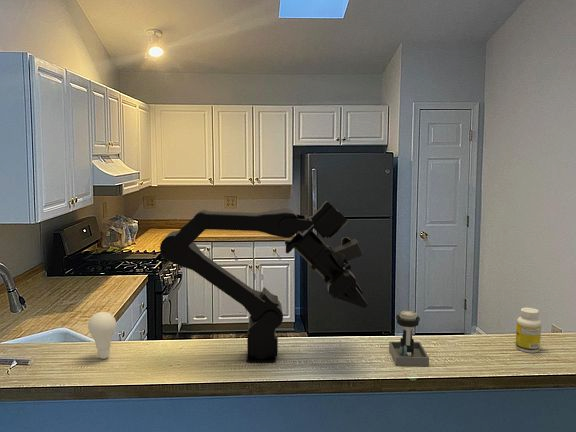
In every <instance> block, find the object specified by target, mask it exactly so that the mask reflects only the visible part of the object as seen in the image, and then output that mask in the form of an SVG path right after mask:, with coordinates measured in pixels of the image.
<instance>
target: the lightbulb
mask: <svg viewBox="0 0 576 432" xmlns="http://www.w3.org/2000/svg"><path fill="white" fill-rule="evenodd" d="M87 324H88V325H87V329H88V333H89V334H90V335H91V337H92V339H93V341H94V343H95V348H96V350H97V357H98V358H99V359H102V360H106V359H107V358H108V357H110V355H111V354H110V348H111V346H112V345H111V343H112V338H113V336H114V333H115V331H116V329H117V320H116V318H115V316H114V315H113V314H112V313H111V312H110V313H109V312H106V311H99V312H97V313H94V314H93V315H92V316H91V317H90V319H89V320H88V323H87Z"/></svg>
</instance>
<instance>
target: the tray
mask: <svg viewBox="0 0 576 432" xmlns="http://www.w3.org/2000/svg"><path fill="white" fill-rule="evenodd" d="M388 343H389V345H388V350H389V352H390V355H391V358H392V359H393V362H394V364H395V366H396V367H429V366H430V357H429V355H428V353H427V352H426V350H425V348H424V347H423V345H422V343H421V342H420V341H414V345H413V347H414V355H413V354H412V357H404V356H403V353H402V349H401V354H400V347H401V344H400V341H389V342H388Z"/></svg>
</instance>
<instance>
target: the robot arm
mask: <svg viewBox="0 0 576 432" xmlns="http://www.w3.org/2000/svg"><path fill="white" fill-rule="evenodd" d="M348 223H349V220H348V219H347V218H346V217H345V215H343V214H342V213H341V212H340V211H339V210H338V209H337V208H335V207H334V206H333V205H332V204H331V203H330V202H329V201H328V200H325V201H324V202H323V203H322V204H321V206H320V207H319V209H317V210H316V211H315V212H314V213H313V214H312V215H311V216H310V215H307V214H305V215H304V214H298V213H296V212H295V211H294V210H292V209H291V208H290V209H289V208H279V209H272V210H267V211H261V212H237V211H235V212H234V211H213V210H212V211H209V210H206V209H203V210H199V211H197V212H196V213H195V215H194V216H193V217H192V218H191V219H190V220H189V221H188V222H186V224H184V225H183V226H182V227H181V228H180V229H179V230H173V231H171V232H169V233H168V234H167V235H166V236H165V237H164V239H162V241H161V243H160V246H159V252H160V255H161V257H162V258H164V260H166V261H169V262H170V263H171V264H172V263H173V264H174V265H176V266H178V267H181V268H185V269H188V270H191V271H193V272H194V273H196V274H197V275H198V276H200V277H202V278H203V279H205V280H206V281H207V282H209V283H210V284H212V285H213V286H214V287H216V288H217V289H219V290H220V291H221V292H223V293H225V295H228V296H229V297H230V298H231V299H233V300H234V301H235V302H237V303H239V304H240V305H241V306H243V308H244V309H245V310H246V311H247V313H249V318H248V328H247V332H246V335H247V336H246V338H247V340H246V341H247V351H246V352H247V355H246V362H247V363H275V362H276V358H277V357H278V353H279V349H278V347H279V336H278V335H276V329H277V328H279V327H280V325H282V323H283V321H284V314H283V307H282V304H281V301H280V300H279V297H278V295H275V294H273V293H271V292H270V291H269V289H267V288H266V287H264V286H263V288H262V289H261V291H259V290H255V289H253V288H251V287H250V285H249V286H248V284H246V283H244V282H243V281H242V280H241V279H239V278H238V277H236V276H235V275H234V274H232V273H231V272H229V271H228V270H226V269H225V268H224V267H222V266H221V265H219V264H218V263H216V262H215V261H214V260H212V259H211V258H209V256H207V255H206V254H204V253H203V252H202V250H201V249H200V248H199V246H198V245H197V244H196V243H195V242H194V241H195V240H196V239H197V238H199V236H200V235H201V234H202V233H203V232H204V231H206V230H214V231H215V230H216V231H246V232H247V231H248V232H249V231H250V232H261V233H264V234H267V235H271V236H274V237H280V238H286V239H285V240H284V244H285V253H286V254H289V253H290V252H292V251H293V250H295V251H296V252H297V253H298V254H299V255H300V256H301V257H302V258H303V259H304V260H305V261H306V262H307V263H308V264H309V265H310V268H311V269H312V270H313V271H316V272H317V273H318V274H319V275H320V276H321V277H322V278H323V282H325V283H326V284H327V291H328V292H327V293H328V294H329V295H330V296H331V297H332V298H333V300H335V299H336V300H340V301H342V302H343V301H344V302H347V303H349V304H353V305H355V306H357V307H360V308H362V309H366V308H367V307H368V306H369V305H368V303H367V301H366V300H365V298H364V297H363V295H364V292H363V290H362V288H361V287H360V286H359V284H358V283H357V278H356V276H355V275H354V274H353V272H351V271H352V269H351V268H352V267H351V263H350V261H351V260H354V259H356V258H361V257H362V256H364V253H363V250H362V248H361V246H360V243H359V241H358V240H357V239H356V238H353V239H351V238H350V237H348V236H345V237H342V238H341V241H340V244H339V245H338V246H337V247H335V248H333V247H332V246H331V245H328V244H326V243H325V242H324V241H323V240H322V239H324V240H325V239H329V238H330V239H332V238H333V237H334V236H335V235H337V233H338V232H339V231H341V229H343V227H344V226H346V224H348ZM313 230H315V231H316V232H317V234H318V235H320V236H321V237H322V239H321V238H320V237H319V236H318V235H317V234H316V233H315V232H314V231H313ZM303 231H304V232H303ZM288 238H291V239H288Z"/></svg>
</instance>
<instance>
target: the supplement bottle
mask: <svg viewBox="0 0 576 432" xmlns="http://www.w3.org/2000/svg"><path fill="white" fill-rule="evenodd" d="M539 315H540V310H539V309H536V308H534V307H533V308H532V307H522V308H521V309H520V316H519V317H517V319H516V331H515V348H516V349H517V350H519V351H521V352H524V353H528V354H529V353H530V354H532V353H538V352H540V349H541V340H542V337H541V336H542V335H541V334H542V321H541V319H539Z"/></svg>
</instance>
